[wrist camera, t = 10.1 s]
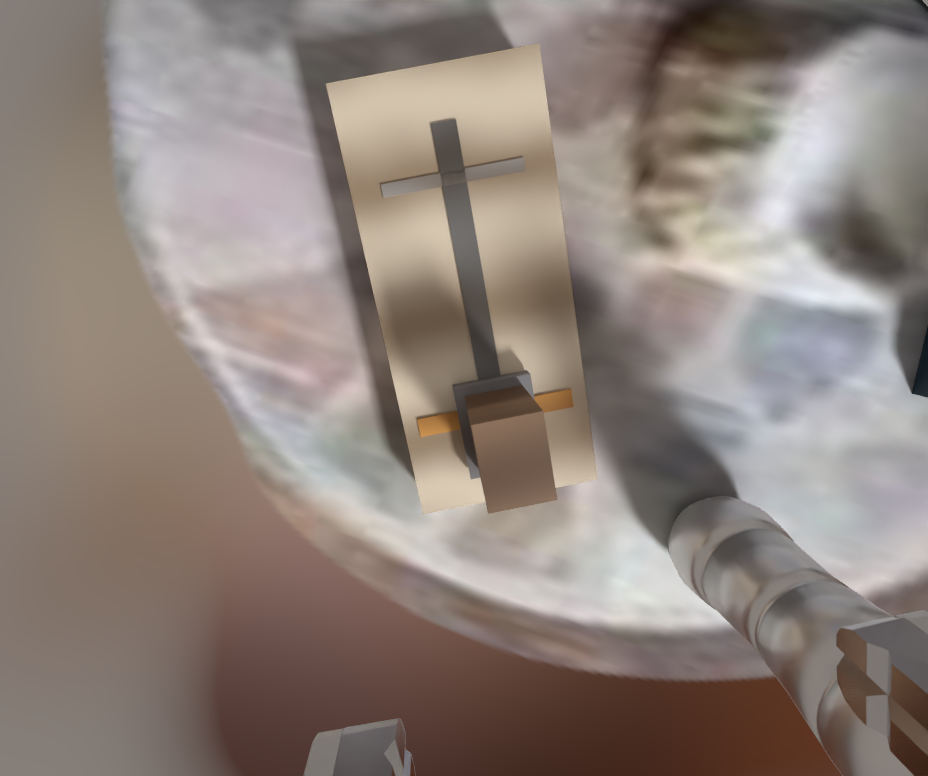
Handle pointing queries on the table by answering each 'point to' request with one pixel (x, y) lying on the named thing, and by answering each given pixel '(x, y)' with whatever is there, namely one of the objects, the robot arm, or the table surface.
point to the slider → (506, 440)
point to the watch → (922, 372)
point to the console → (465, 252)
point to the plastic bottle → (782, 617)
